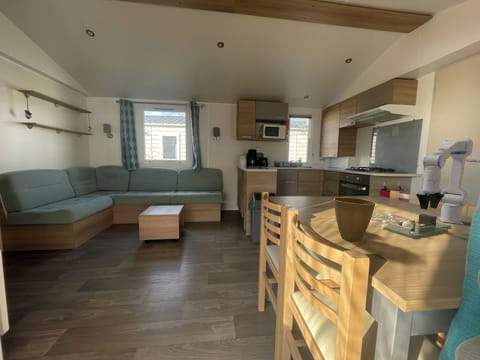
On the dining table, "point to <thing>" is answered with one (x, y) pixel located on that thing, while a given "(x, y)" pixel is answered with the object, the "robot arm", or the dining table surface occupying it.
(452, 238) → the dining table surface
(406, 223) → the ball
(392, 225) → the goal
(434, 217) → the block ended dumbbell
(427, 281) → the dining table surface
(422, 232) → the green long flat piece
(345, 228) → the plant pot
